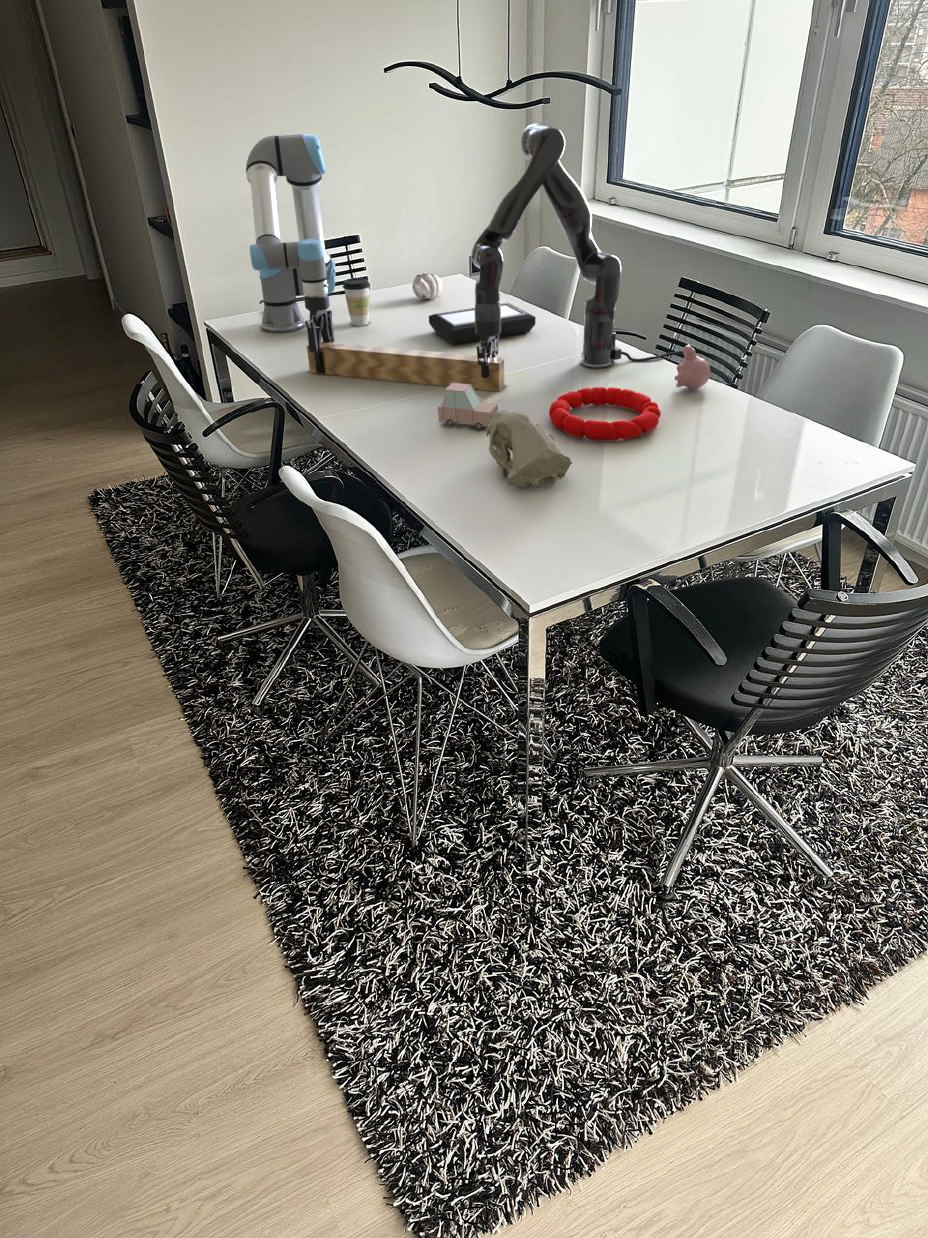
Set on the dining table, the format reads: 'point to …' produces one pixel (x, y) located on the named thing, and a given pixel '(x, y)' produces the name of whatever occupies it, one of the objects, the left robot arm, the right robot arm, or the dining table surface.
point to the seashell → (427, 286)
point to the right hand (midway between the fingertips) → (488, 374)
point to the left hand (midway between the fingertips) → (325, 369)
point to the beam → (408, 365)
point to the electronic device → (462, 323)
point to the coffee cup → (357, 300)
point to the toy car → (465, 406)
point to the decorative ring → (604, 428)
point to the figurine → (692, 370)
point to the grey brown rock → (525, 450)
